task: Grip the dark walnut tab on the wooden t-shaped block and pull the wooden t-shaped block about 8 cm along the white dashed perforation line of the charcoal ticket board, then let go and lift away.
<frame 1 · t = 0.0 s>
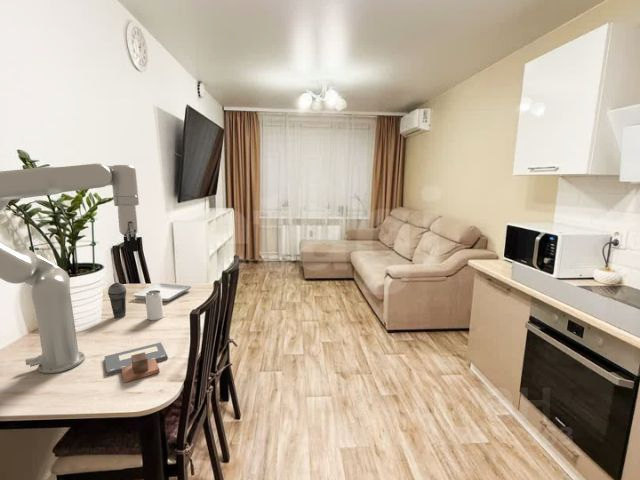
hand: (131, 249, 124), 37 cm above the table, tool pointing down, fingers open, 9 cm apart
ticket board: (136, 359, 120), on the table
wooden t-shaped block: (139, 364, 111), point 3 cm above the table, slide at 0.0 cm
can: (155, 318, 155), on the table
beverage cup: (119, 316, 157), on the table
salad plate: (163, 296, 184), on the table
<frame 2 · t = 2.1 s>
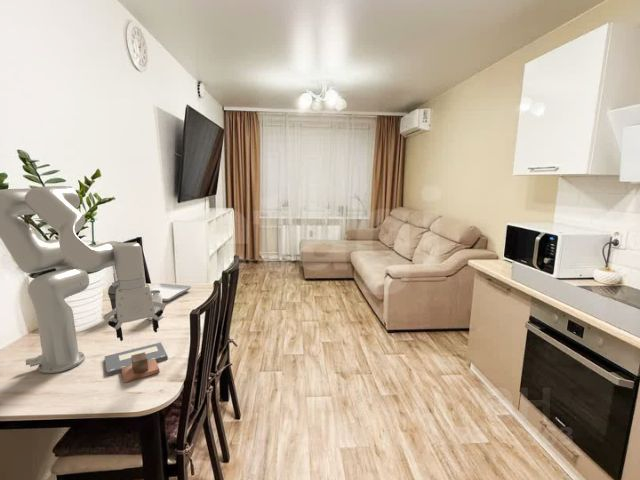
hand: (138, 335, 109), 13 cm above the table, tool pointing down, fingers open, 9 cm apart
nothing on the table moved.
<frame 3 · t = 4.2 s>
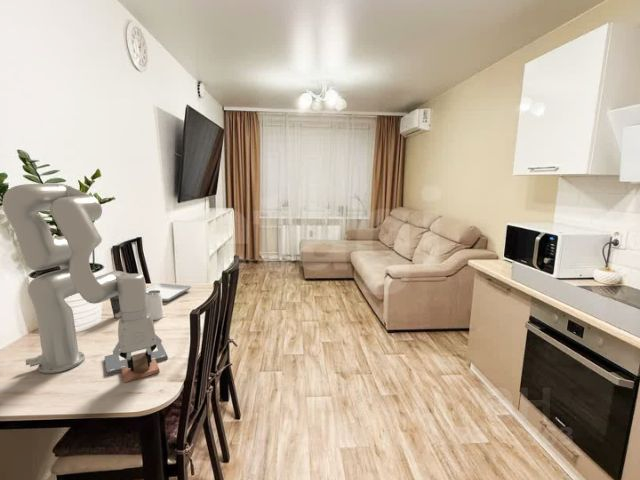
hand: (140, 366, 111), 2 cm above the table, tool pointing down, fingers closed on wooden t-shaped block, 4 cm apart
wooden t-shaped block: (139, 364, 111), point 3 cm above the table, slide at 0.0 cm, touching gripper
everything else where it was.
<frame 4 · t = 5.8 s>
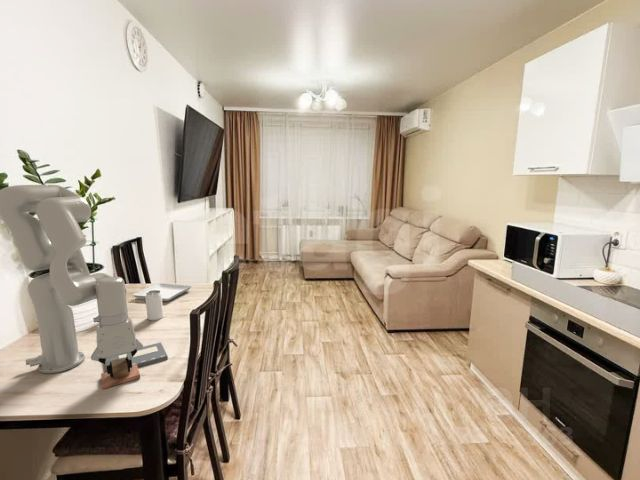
hand: (120, 372, 108), 2 cm above the table, tool pointing down, fingers closed on wooden t-shaped block, 4 cm apart
wooden t-shaped block: (119, 370, 108), point 3 cm above the table, slide at 5.6 cm, touching gripper
everything else where it was.
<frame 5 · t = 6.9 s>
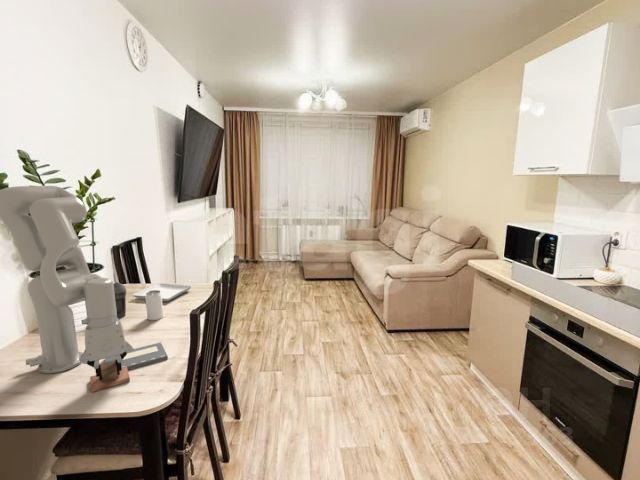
hand: (109, 375, 107), 2 cm above the table, tool pointing down, fingers closed on wooden t-shaped block, 4 cm apart
wooden t-shaped block: (109, 372, 106), point 3 cm above the table, slide at 8.5 cm, touching gripper
everything else where it was.
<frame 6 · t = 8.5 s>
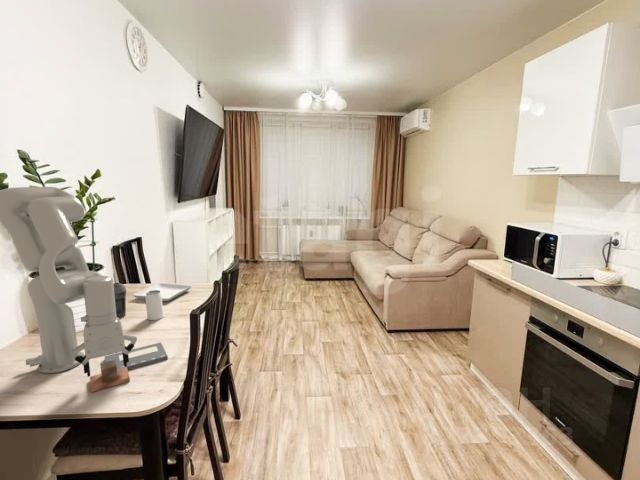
hand: (107, 369, 107), 4 cm above the table, tool pointing down, fingers open, 9 cm apart
wooden t-shaped block: (109, 372, 106), point 3 cm above the table, slide at 8.5 cm
everything else where it was.
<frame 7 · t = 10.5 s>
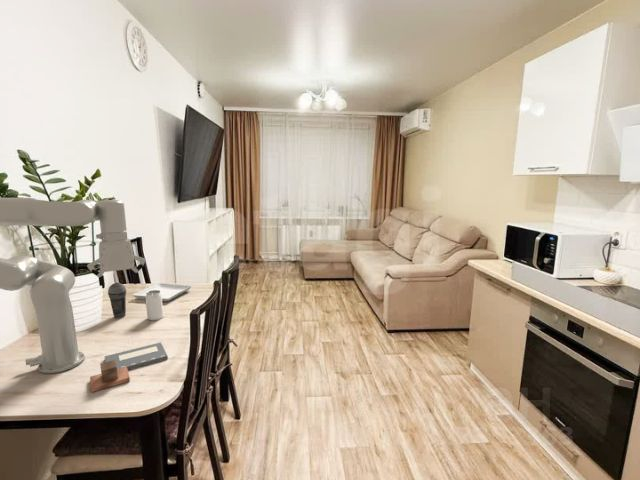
hand: (119, 285, 120), 25 cm above the table, tool pointing down, fingers open, 9 cm apart
nothing on the table moved.
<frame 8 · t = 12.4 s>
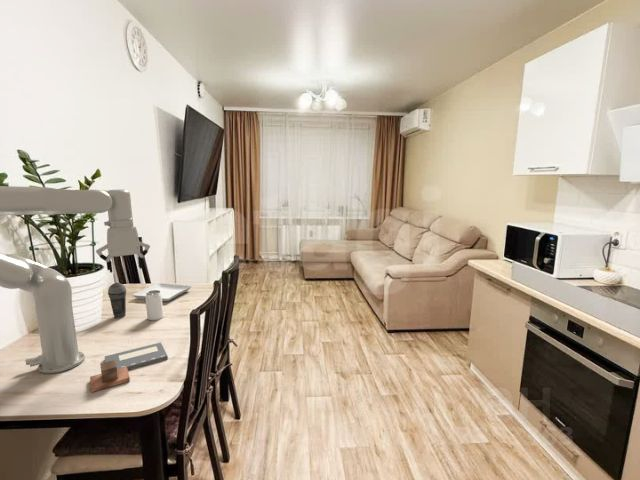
hand: (126, 269, 128), 28 cm above the table, tool pointing down, fingers open, 9 cm apart
nothing on the table moved.
at the end: wooden t-shaped block slide at 8.5 cm; the gripper is holding nothing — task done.
